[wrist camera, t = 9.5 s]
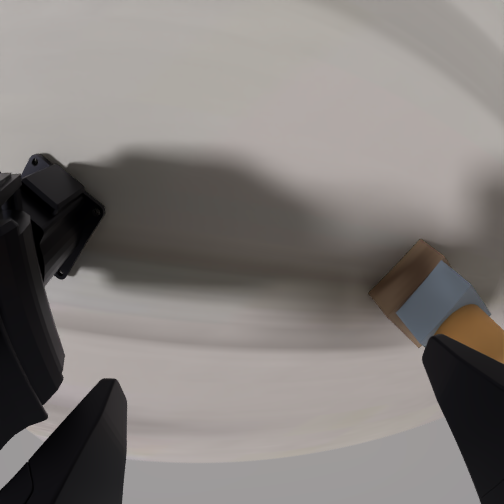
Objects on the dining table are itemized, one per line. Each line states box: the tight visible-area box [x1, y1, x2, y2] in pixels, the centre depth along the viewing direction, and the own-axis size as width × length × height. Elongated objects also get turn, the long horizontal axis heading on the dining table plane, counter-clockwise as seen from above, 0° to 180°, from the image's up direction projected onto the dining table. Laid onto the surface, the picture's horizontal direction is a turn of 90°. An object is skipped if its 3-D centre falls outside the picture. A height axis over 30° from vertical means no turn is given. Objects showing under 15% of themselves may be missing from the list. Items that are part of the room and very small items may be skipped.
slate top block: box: [396, 260, 491, 348], centre depth 19 cm, size 5×5×4 cm
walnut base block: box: [368, 239, 451, 348], centre depth 22 cm, size 6×6×4 cm
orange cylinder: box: [434, 304, 504, 364], centre depth 16 cm, size 5×5×4 cm
